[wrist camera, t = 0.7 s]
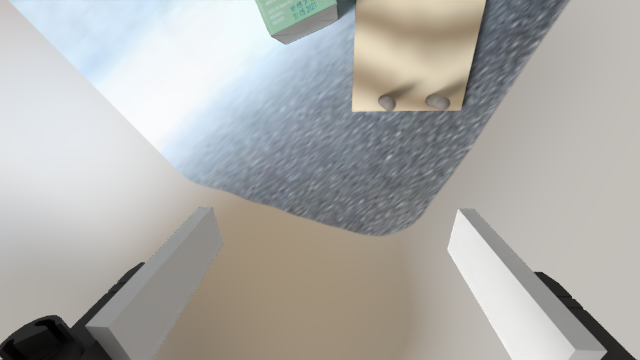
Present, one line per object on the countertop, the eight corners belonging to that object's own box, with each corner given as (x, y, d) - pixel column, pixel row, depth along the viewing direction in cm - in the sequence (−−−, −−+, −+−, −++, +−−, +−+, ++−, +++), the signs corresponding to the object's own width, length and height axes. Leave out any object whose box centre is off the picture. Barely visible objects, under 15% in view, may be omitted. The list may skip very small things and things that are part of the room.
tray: (358, -79, 24) (364, -115, 20) (500, -88, 23) (541, -127, 19) (351, 109, 32) (354, 116, 28) (456, 108, 31) (477, 115, 27)
